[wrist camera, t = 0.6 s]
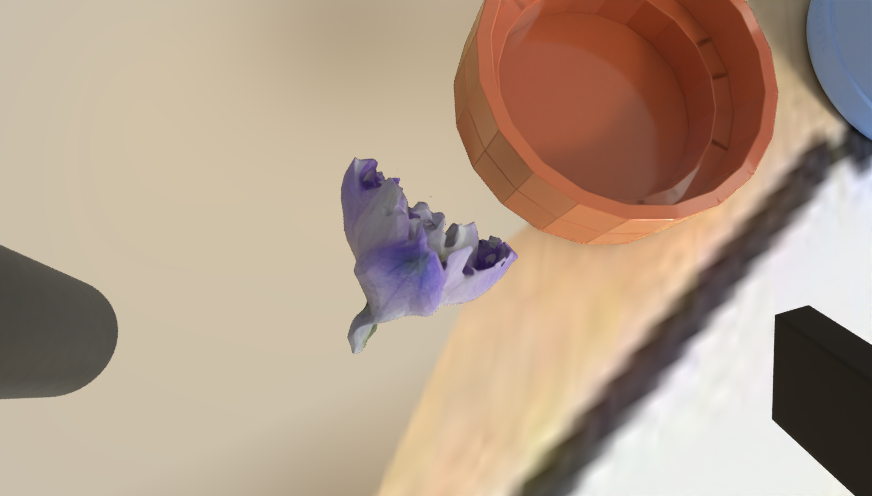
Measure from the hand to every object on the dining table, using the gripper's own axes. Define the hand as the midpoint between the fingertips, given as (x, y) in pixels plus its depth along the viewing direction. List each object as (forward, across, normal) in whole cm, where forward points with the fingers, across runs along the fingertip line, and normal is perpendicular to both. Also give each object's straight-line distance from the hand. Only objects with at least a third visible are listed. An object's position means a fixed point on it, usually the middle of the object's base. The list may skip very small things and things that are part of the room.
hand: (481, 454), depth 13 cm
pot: (+26, +13, -1) cm, 29 cm away
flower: (+21, 0, -6) cm, 22 cm away
